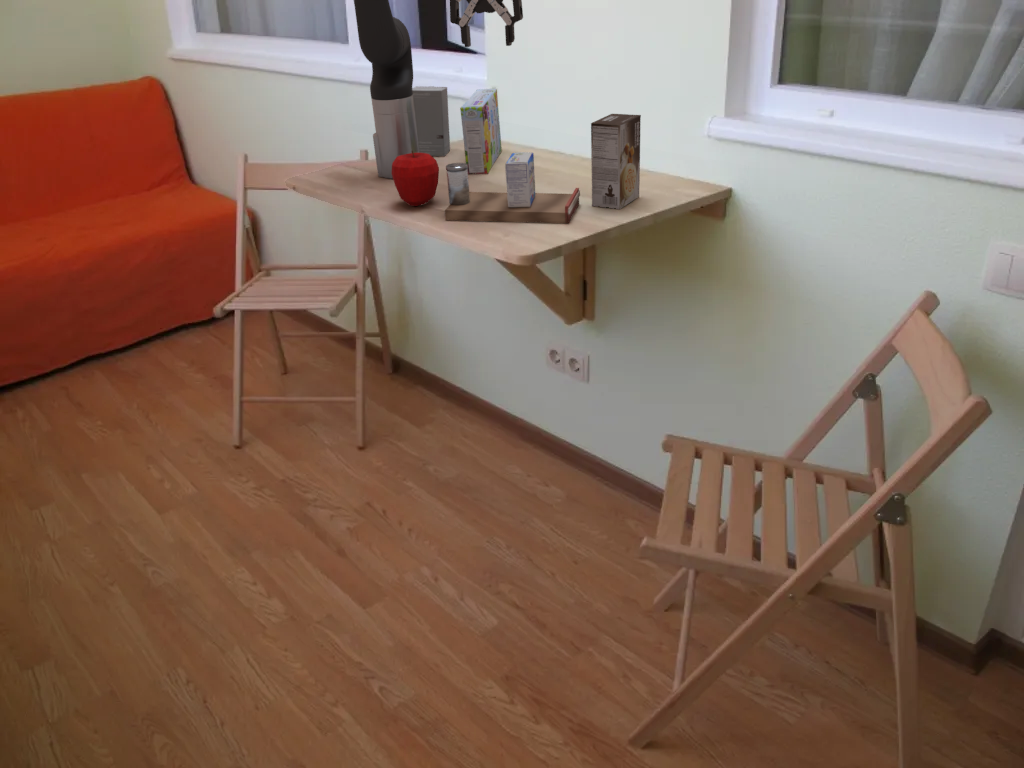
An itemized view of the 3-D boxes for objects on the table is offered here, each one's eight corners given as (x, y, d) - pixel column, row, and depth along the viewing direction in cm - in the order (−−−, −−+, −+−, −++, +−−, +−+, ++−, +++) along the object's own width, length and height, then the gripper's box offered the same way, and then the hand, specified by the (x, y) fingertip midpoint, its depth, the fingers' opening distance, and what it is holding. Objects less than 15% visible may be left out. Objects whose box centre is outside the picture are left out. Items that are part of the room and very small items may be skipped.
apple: (429, 212, 162) (423, 157, 157) (386, 209, 165) (379, 155, 160) (449, 197, 170) (444, 145, 165) (408, 195, 173) (402, 143, 168)
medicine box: (530, 208, 155) (528, 162, 150) (507, 208, 155) (504, 162, 151) (535, 195, 161) (534, 151, 157) (513, 196, 162) (511, 152, 158)
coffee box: (611, 193, 167) (611, 112, 159) (640, 197, 164) (642, 114, 156) (590, 206, 160) (590, 122, 152) (620, 210, 157) (621, 124, 149)
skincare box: (413, 157, 203) (406, 90, 195) (420, 150, 209) (413, 85, 201) (446, 156, 201) (440, 89, 193) (453, 149, 207) (447, 84, 200)
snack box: (480, 151, 204) (476, 88, 197) (502, 151, 203) (499, 88, 196) (464, 174, 186) (459, 106, 178) (489, 174, 185) (484, 105, 178)
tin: (446, 205, 159) (442, 168, 155) (452, 198, 163) (449, 162, 159) (467, 205, 158) (463, 168, 154) (473, 199, 162) (470, 162, 158)
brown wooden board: (445, 220, 157) (444, 203, 156) (463, 201, 167) (462, 186, 166) (569, 223, 152) (569, 206, 150) (580, 203, 162) (579, 187, 160)
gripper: (523, -49, 156) (527, 42, 164) (452, -45, 160) (459, 44, 168) (514, -47, 150) (518, 47, 158) (440, -43, 153) (448, 49, 161)
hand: (488, 46), depth 163 cm, fingers open, 8 cm apart
